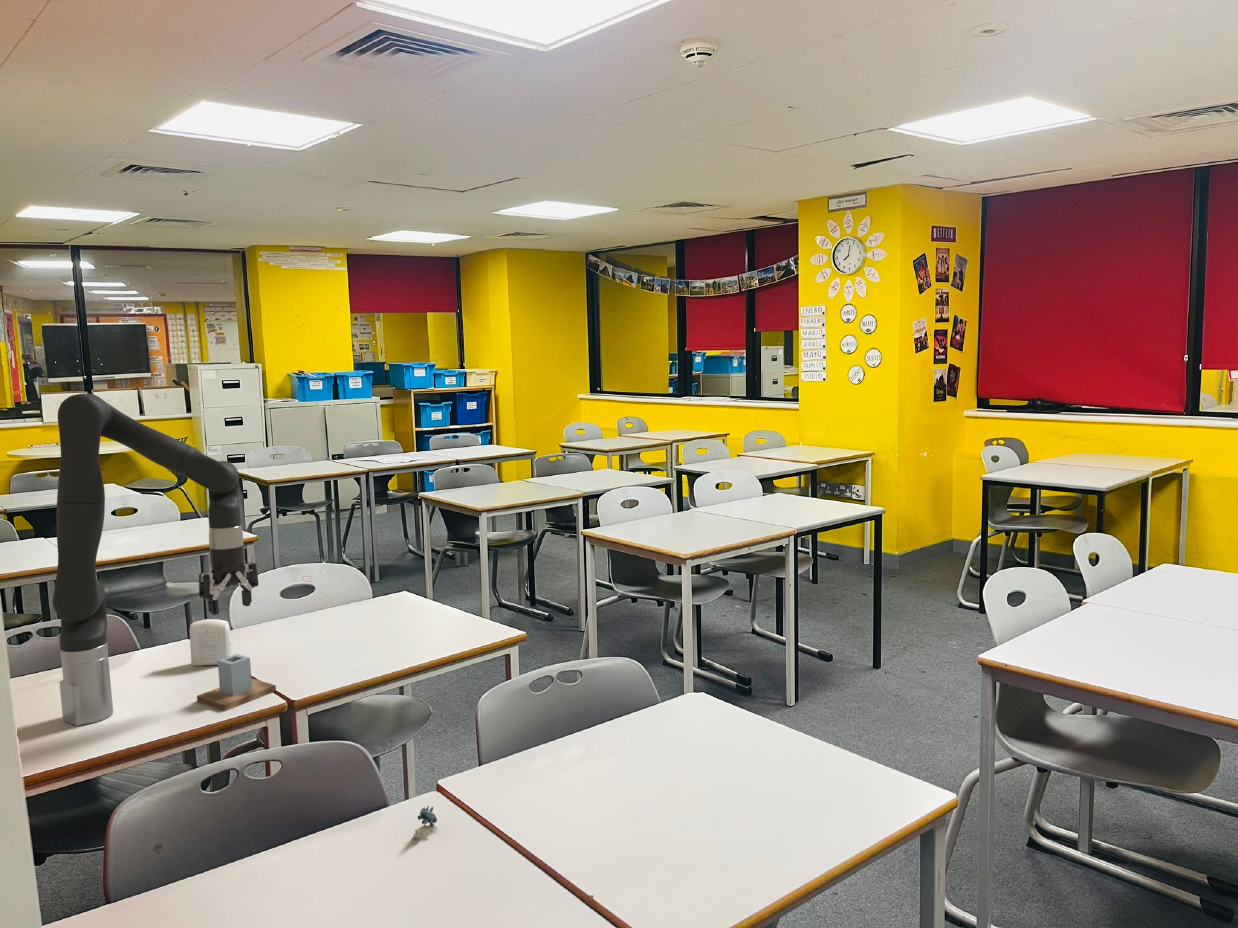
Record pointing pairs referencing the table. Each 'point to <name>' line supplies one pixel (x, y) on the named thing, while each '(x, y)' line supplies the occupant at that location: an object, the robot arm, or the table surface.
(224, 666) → the jaw block
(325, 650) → the table surface
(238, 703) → the walnut pin plate
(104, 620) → the robot arm
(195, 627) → the white rounded block
